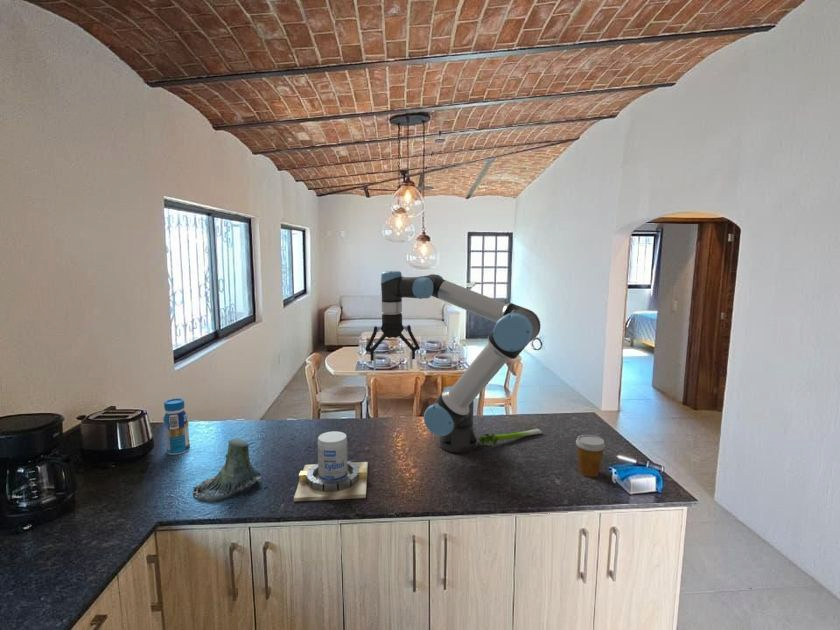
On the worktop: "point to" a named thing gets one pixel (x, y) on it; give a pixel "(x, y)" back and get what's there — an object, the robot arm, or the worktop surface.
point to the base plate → (353, 492)
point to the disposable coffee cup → (589, 454)
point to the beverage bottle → (176, 427)
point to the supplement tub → (332, 456)
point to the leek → (506, 436)
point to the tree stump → (230, 475)
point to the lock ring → (332, 485)
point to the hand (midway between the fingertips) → (393, 368)
